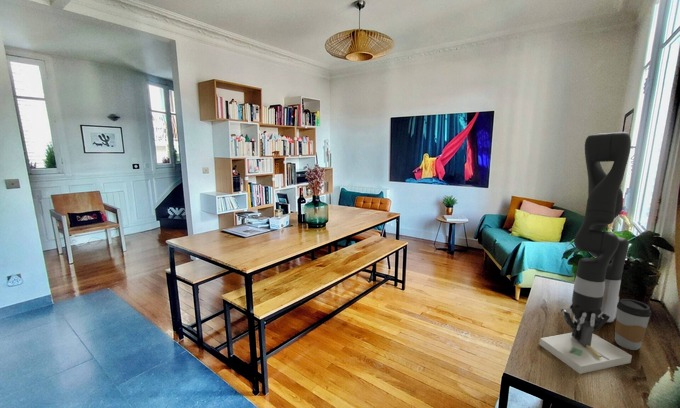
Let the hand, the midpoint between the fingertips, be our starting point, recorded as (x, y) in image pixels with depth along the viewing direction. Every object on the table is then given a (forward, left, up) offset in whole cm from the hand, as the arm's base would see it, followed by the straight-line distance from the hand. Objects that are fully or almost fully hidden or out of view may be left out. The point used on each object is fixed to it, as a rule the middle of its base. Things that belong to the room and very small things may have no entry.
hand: (580, 339), depth 101 cm
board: (+1, +2, -4) cm, 4 cm away
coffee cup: (-18, +2, -4) cm, 19 cm away
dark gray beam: (+1, +2, -1) cm, 3 cm away
